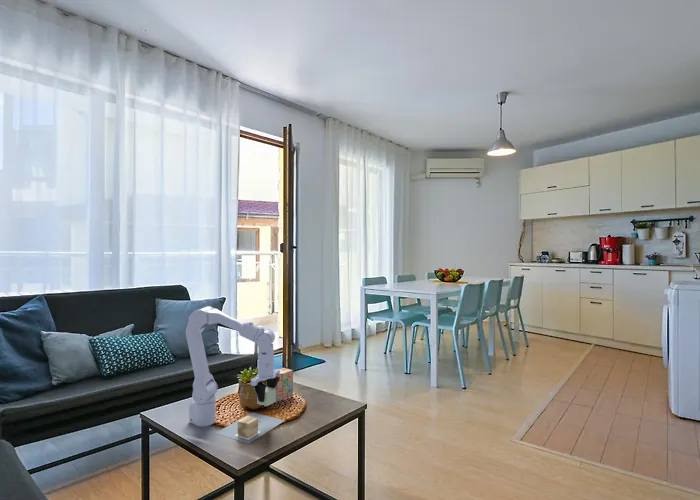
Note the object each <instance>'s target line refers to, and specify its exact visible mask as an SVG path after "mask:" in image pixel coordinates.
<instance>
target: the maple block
mask: <svg viewBox="0 0 700 500" xmlns="http://www.w3.org/2000/svg"><path fill="white" fill-rule="evenodd" d="M245 416H246V417H245ZM245 416H244V417H242V418H240V419H241V420H240V419H238V420H239V421H238V420H237V421H238V435H239V436H242V437H245V438H250V437H252V436H253V435H255V434H256V433H258V418H254V417H250V416H247V415H245Z"/></svg>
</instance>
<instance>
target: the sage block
mask: <svg viewBox="0 0 700 500" xmlns="http://www.w3.org/2000/svg"><path fill="white" fill-rule="evenodd" d="M274 403H277V401H276V388H271V387H266V390H265V398H264V402H259V401H258V397H257V404H259V405H264V407H268V406H270V405H272V404H274Z"/></svg>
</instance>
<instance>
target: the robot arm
mask: <svg viewBox="0 0 700 500" xmlns="http://www.w3.org/2000/svg"><path fill="white" fill-rule="evenodd" d="M214 324H215V325H216V324H221V326H222V325H223V326H225V327H228V328H229V329H232V330H234V331H237V332H238V334H239V336H240V337H242V338H245V340H249V341H251V342H253V343H255V344H256V345H257V347H258V350H257V358H258V359H257V360H258V361H257V367H258V368H257V375H256V376H255V377H253V378H252V379H250V385H252V386H253V387H254V389H255V391H256V394H257V397H258V401H259V402H264V398H265V390H266V386H267V387H271V388H276V385H277V383H278V381H279V377H276V375H280V370H279V369H280V368H274V366H275V365H274V363H275V359H274V354H275V353H274V351H275V350H274V342H275V340H276V334H275V332H273V331H272V330H271V329H269V328H267V329H266V328H264V327H260V326H258V325H256V324H254V322H253V321H245V322H242V321H239V320H238V319H236V318H234V317H232V316H230V315H228V314H226V313H224V312H222V311H221V310H219V309H218V308H214V307H212V306H208V305H206V306H204V307H202V308H199V309H195V310H193V311H192V313H191V314H190V315H189V316H188V321H187V326H186V329H185V339H186V341H187V347H188V351H189V356H190V361H191V365H192V371H193V374H194V380H193V383H192V394H191V396H192V397H191V398H192V400H191V402H190V403H189V406H188V407H189V408H188V422H189V423H190V424H193V425H195V426H196V427H208V426H212V425H213V424H215V423H216V395H215V394H216V393H217V391H218V388H219V386H218V384H217V382H216V381H215V379H214V376H213V374H212V373H210V369H209V364H208V359H207V354H206V349H205V345H204V341H203V336H202V332H203V331H204V330H205V329H206V327H207V326H208V325H214ZM265 380H266V383H267V384H264V383H263V381H265Z"/></svg>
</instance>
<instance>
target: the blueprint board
mask: <svg viewBox="0 0 700 500" xmlns="http://www.w3.org/2000/svg"><path fill="white" fill-rule="evenodd" d="M246 416H250V417H254V418H258V420H259V421H261V423H260V422H259V421H258V433H256V434H255V435H253V436H252V437H250V438H245V437H242V436H239V435H238V421H239V420H241V419H242V418H240V419H238V420H236V421H234V422H233V423H231V424H229V425H227V426H225V427H223V428H221V429H220V430H218V431H216V432H214V434H216V435H219V436H222V437H226V438H229V439H233V440H236V441H240V442H243V443H246V444H251V443H253V442H254V441H255V440H257V439H258V438H260V437H262V436H263V435H265V434H266V433H268V432H269V431H271V430H273V429H274V428H275V427H277V426H279V425H280V424H282V423H283V422H285V421H286V420H284V419H281V418H278V417H277V418H276V417H273V416H268V415H265V414H261V413H256V412H251V413H249V414H247V415H245V416H244V417H246Z"/></svg>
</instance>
